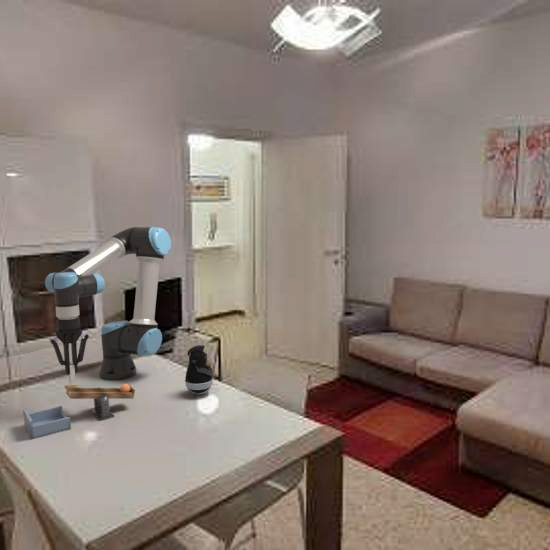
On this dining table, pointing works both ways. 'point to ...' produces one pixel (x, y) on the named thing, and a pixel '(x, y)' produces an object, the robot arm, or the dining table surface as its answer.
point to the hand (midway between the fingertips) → (72, 382)
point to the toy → (198, 371)
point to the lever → (97, 392)
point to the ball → (125, 388)
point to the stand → (102, 408)
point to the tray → (46, 422)
